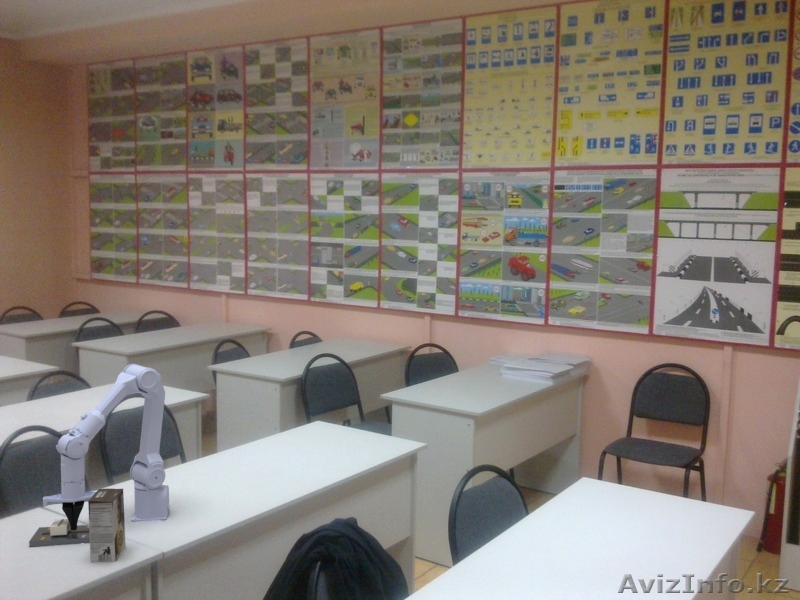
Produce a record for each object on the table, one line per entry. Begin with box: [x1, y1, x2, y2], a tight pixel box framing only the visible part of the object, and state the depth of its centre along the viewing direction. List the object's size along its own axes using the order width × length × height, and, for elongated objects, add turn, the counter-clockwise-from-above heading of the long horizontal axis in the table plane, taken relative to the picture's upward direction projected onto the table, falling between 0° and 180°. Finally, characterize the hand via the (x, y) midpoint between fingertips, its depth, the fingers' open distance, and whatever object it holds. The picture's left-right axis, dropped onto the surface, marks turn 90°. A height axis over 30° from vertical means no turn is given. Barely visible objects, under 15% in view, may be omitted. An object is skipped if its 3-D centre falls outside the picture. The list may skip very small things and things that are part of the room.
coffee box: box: [87, 488, 126, 564], centre depth 191 cm, size 9×6×16 cm
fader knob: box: [49, 518, 71, 536], centre depth 201 cm, size 4×5×2 cm
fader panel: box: [28, 524, 90, 548], centre depth 201 cm, size 16×9×2 cm, turn 100°
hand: (74, 528), depth 202 cm, fingers closed
